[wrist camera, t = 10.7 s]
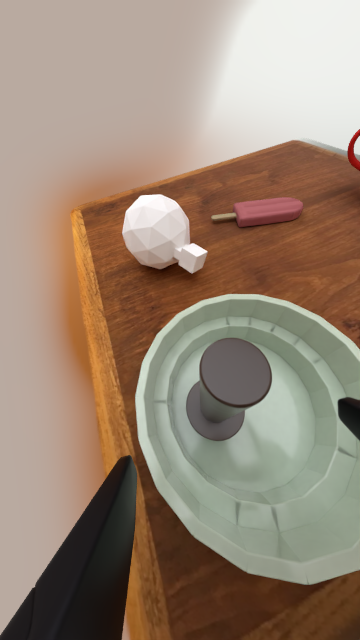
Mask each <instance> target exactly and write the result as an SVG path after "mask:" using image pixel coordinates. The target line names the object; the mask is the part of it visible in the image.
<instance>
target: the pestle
mask: <svg viewBox="0 0 360 640" xmlns="http://www.w3.org/2000/svg"><path fill="white" fill-rule="evenodd" d="M199 378H200V381H198V382H197V383H196V384H194V385H193V387H192V388H191V390H190V391H189V393H188V396H187V400H186V412H187V416H188V419H189V421H190V423H191V425H192V427H193V428H194V429H195V431H196V432H197V433H199V434H200V435H201V436H203V437H204V438H206V439H209V440H212V441H224V440H227V439H230V438H231V437H233V436H234V435H235V434H237V432H238V431H239V430H240V428H241V427H242V424H243V422H244V417H245V410H246V409H248V408H250V407H252V406H254V405H256V404H258V403H260V402H261V401H262V400H263V399H264V398H265V397H266V396H267V394H268V393H269V390H270V388H271V384H272V371H271V367H270V364H269V362H268V360H267V358H266V356H265V355H264V354H263V352H262V351H261V350H260V349H259V348H257V347H256V346H255V345H253V344H252V343H250V342H248V341H246V340H243V339H239V338H224V339H220V340H218V341H215V342H214V343H212V344H211V345H210V346H208V347H207V349H206V350H205V351H204V353H203V355H202V357H201V360H200V365H199Z"/></svg>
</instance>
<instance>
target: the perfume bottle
mask: <svg viewBox="0 0 360 640" xmlns="http://www.w3.org/2000/svg"><path fill="white" fill-rule="evenodd" d="M122 234H123V238H124V241H125V244H126V247H127V248H128V250H129V251H130V252H131V253H132V254H133V256H134V257H135V258H136V259H137V260H138V261H139V263H140V264H142V265H146V266H150V267H154V268H158V269H162V268H165V267H167V266H169V265H172V264H174V263H176V262H179V263H178V265H180V266H181V267H183V268H184V269H186V270H187V271H189V272H190V273H194V272H196V271H197V270H199V269H201V268H202V267H203V264H204V261H205V258H206V255H207V251H206V250H204V249H202V248H201V247H199V246H197V245H196V244H194V243H192V244H190V234H189V219H188V218H187V216H186V215H185V213H184V212H183V210H182V209H181V207H180V206H179V205H178V204H177V203H176V202H175V201H174V200H172V199H170V198H167V197H165V196H163V195H144V196H140V197H139V198H138V199H137V200H136V201H135V202H134V203H133V204H132V206H131V207H130V208H129V209H128V210H127V211H126V214H125V220H124V226H123V232H122ZM189 244H190V245H189Z"/></svg>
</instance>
